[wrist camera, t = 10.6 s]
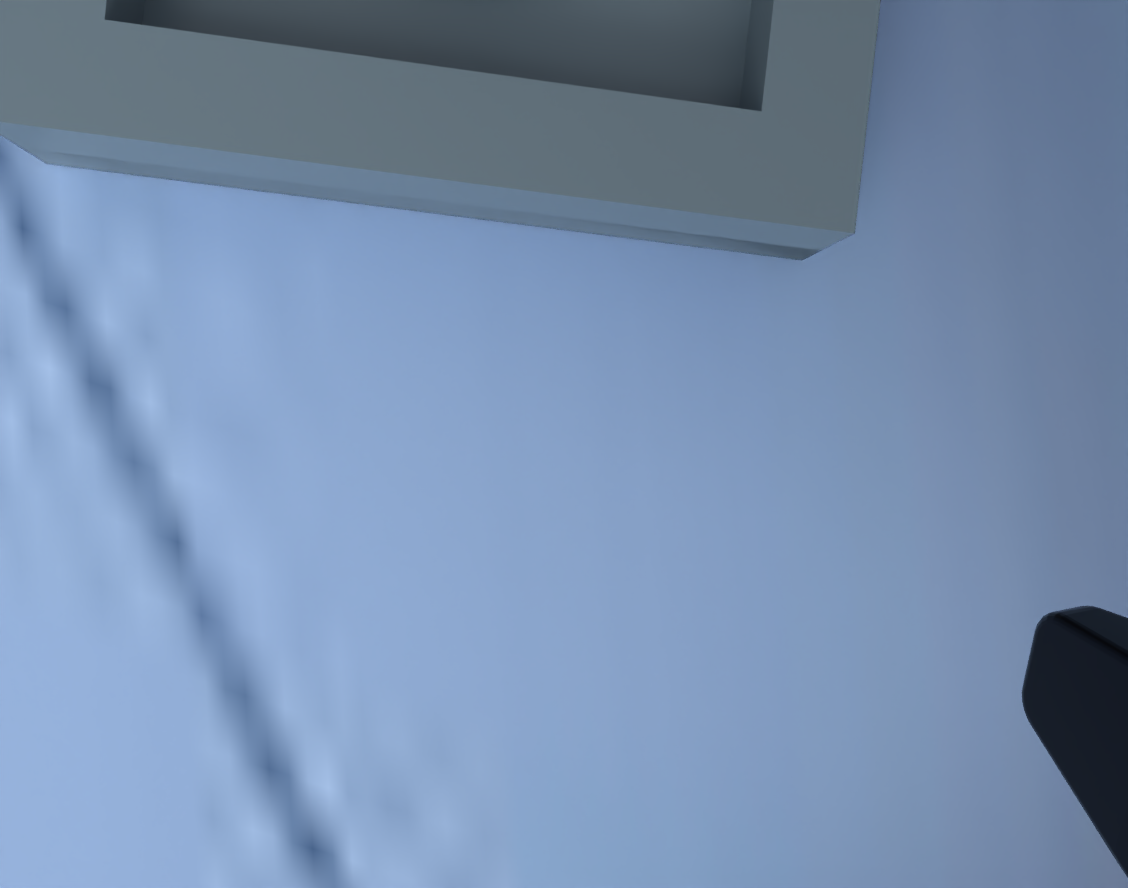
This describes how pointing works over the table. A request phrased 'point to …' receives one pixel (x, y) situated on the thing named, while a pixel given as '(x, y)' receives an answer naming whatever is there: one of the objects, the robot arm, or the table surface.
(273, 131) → the tray
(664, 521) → the table surface
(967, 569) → the table surface
